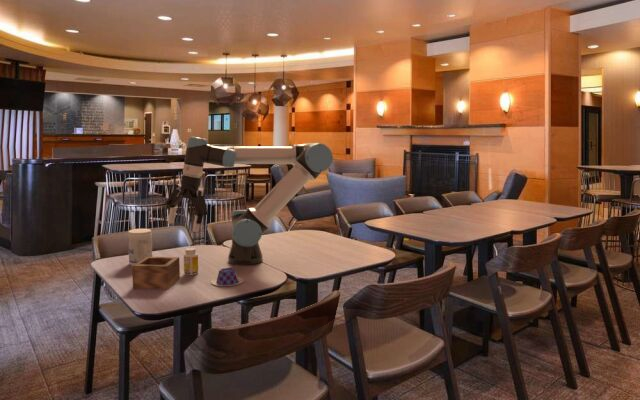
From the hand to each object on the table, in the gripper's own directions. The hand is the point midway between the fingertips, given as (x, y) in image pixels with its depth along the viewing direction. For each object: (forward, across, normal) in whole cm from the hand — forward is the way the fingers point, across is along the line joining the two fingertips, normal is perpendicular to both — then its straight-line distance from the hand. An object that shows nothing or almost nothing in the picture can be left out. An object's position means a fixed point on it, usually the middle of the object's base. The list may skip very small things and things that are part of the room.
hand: (183, 227), depth 192 cm
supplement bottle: (+18, +7, +2) cm, 19 cm away
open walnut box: (+20, +5, -14) cm, 25 cm away
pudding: (+16, +26, 0) cm, 31 cm away
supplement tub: (+22, -22, +2) cm, 31 cm away
